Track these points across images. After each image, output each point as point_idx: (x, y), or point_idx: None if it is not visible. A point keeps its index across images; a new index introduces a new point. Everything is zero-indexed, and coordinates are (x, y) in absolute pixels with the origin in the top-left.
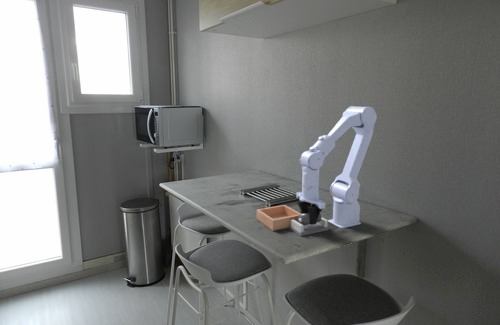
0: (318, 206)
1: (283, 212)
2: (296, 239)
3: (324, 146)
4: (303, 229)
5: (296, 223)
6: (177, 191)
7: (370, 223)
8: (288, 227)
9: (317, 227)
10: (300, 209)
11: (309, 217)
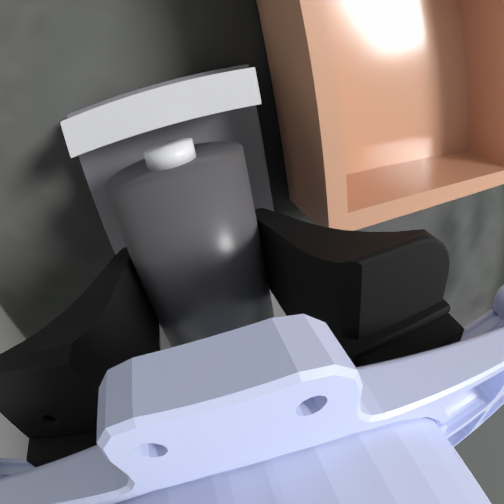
0: (24, 464)
1: (475, 150)
2: (38, 69)
3: None
4: None
5: (139, 93)
6: None
7: None
8: (269, 65)
9: None
10: (327, 229)
11: (139, 271)
